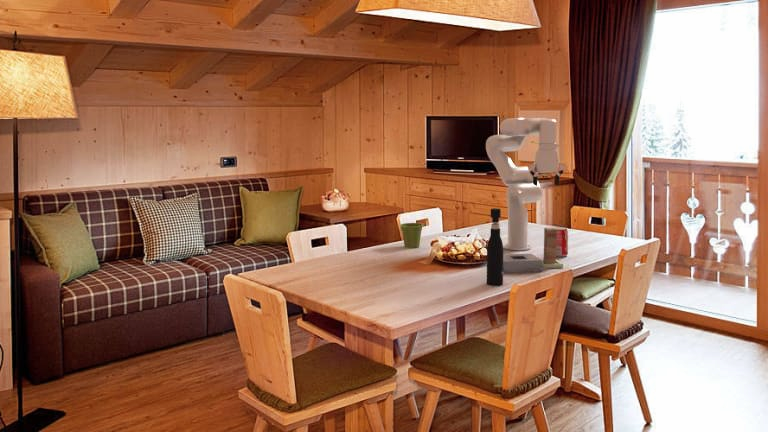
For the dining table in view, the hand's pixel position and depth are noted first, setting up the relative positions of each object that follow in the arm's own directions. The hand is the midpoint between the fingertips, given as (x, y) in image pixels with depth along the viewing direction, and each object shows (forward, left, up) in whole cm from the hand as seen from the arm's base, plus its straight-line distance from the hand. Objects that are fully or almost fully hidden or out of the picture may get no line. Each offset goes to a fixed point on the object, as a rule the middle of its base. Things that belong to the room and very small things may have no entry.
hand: (545, 185), depth 341 cm
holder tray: (+17, -4, -33) cm, 38 cm away
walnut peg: (+17, -4, -33) cm, 37 cm away
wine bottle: (+44, -36, -34) cm, 66 cm away
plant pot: (-36, -56, -34) cm, 74 cm away
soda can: (-3, +8, -34) cm, 35 cm away
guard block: (+20, -19, -33) cm, 43 cm away
